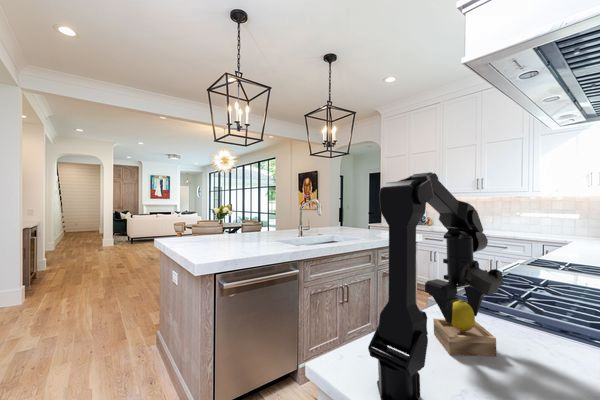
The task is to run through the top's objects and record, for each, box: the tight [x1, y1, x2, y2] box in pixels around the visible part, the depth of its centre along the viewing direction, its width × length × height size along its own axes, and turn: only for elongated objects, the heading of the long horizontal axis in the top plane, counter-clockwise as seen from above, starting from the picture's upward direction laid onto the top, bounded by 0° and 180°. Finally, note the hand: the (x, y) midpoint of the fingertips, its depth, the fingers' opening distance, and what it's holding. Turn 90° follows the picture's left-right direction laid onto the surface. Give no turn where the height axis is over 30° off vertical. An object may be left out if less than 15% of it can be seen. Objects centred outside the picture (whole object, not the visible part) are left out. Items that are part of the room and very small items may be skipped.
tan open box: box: [433, 318, 498, 358], centre depth 69 cm, size 10×10×4 cm
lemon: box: [451, 299, 476, 333], centre depth 69 cm, size 6×6×8 cm
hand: (461, 319), depth 69 cm, fingers open, 9 cm apart
